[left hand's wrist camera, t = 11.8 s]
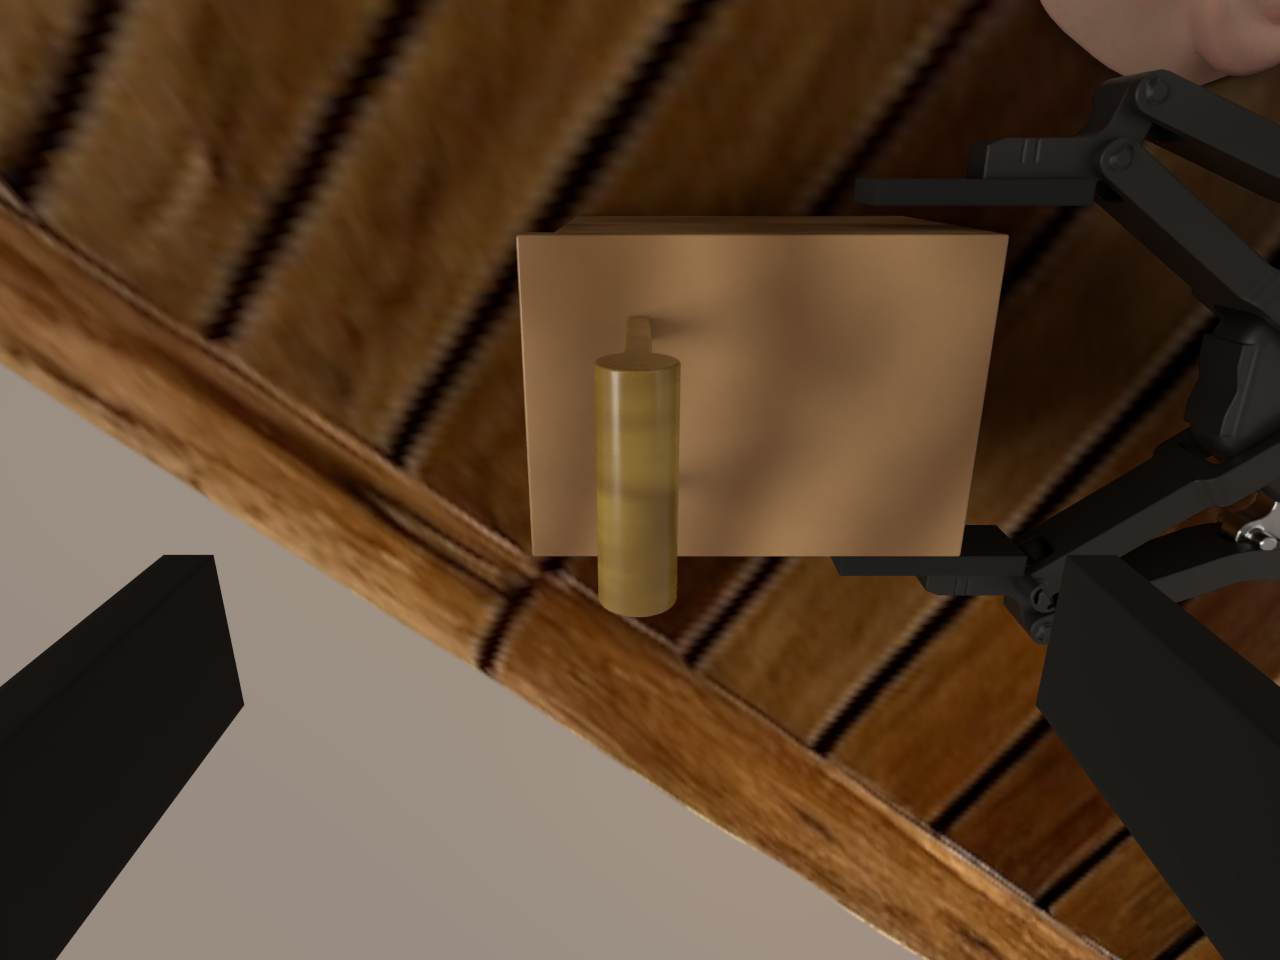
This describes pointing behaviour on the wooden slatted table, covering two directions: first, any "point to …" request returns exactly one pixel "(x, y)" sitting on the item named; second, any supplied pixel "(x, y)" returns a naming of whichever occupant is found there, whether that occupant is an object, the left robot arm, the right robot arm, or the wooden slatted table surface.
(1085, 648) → the left robot arm
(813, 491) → the lid
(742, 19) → the wooden slatted table surface
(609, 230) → the chest
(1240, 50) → the anatomical model
